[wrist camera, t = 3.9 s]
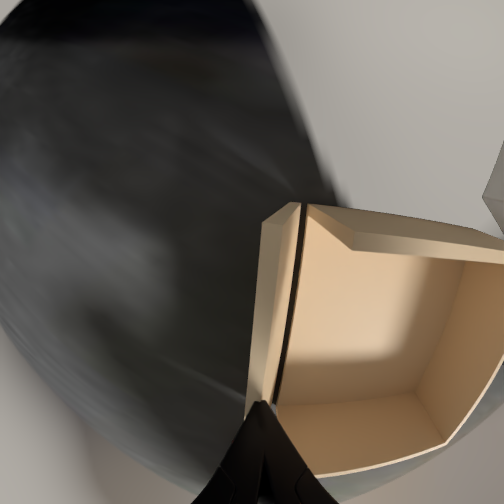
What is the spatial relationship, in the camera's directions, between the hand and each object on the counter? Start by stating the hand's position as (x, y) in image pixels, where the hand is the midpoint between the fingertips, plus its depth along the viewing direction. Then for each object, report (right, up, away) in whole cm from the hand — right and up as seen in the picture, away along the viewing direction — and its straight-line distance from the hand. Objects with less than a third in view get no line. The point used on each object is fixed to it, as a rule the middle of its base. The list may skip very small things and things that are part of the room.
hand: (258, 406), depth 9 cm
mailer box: (+7, +1, +6) cm, 9 cm away
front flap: (+1, +2, +6) cm, 6 cm away
